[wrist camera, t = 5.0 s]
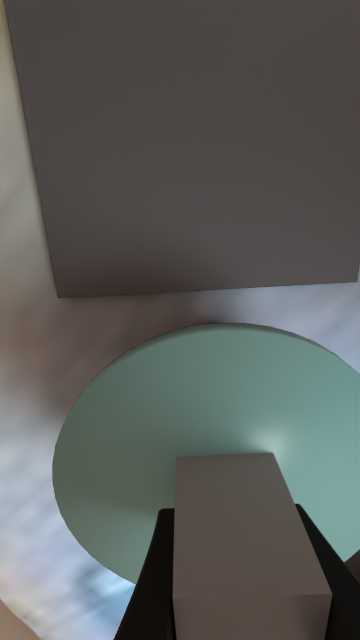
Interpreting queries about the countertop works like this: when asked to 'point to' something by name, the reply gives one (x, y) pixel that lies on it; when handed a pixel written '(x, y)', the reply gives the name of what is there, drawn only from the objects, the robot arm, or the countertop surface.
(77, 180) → the mat
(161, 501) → the lid
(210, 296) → the countertop surface
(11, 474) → the countertop surface
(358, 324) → the countertop surface
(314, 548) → the robot arm
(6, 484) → the countertop surface
